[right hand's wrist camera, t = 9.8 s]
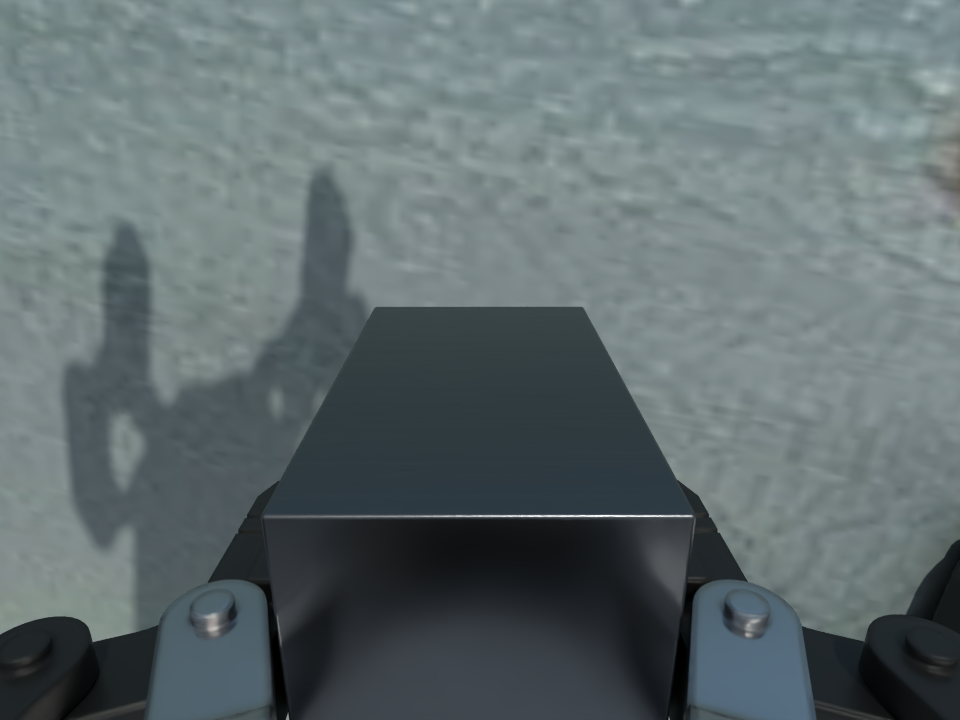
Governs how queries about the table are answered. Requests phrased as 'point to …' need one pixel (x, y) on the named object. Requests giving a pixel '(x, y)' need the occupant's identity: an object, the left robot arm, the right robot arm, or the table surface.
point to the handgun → (950, 603)
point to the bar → (478, 529)
